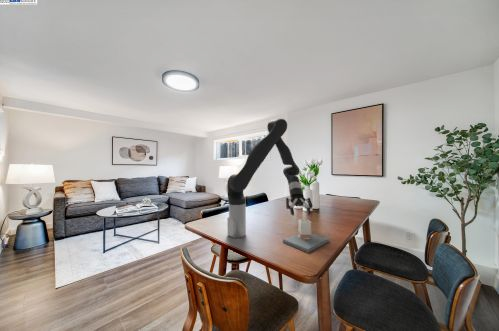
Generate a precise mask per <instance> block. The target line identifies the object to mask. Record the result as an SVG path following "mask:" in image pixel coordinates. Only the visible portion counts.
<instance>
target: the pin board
mask: <svg viewBox="0 0 499 331" xmlns="http://www.w3.org/2000/svg"><path fill="white" fill-rule="evenodd" d="M329 242H330V239H329V238H328V237H324V236H322V235H318V234H315V233H312V232H311V238H300V236H299V235H298V233H295V234H293V235H291V236H288V237H285V238H282V243H283V244H286V245H288V246H290V247H293V248H295V249H297V250H301V251H303V252H306V253H310V252H312V251H314V250H316V249H318V248H319V247H321V246H323V245H326V244H327V243H329Z"/></svg>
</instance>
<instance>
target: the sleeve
mask: <svg viewBox="0 0 499 331" xmlns="http://www.w3.org/2000/svg"><path fill="white" fill-rule="evenodd" d="M297 221H298V224H297V226H298V227H297V228H298V230H297V234H298V235H299V236H300V238H311V233H312V222H311V220H309V219H307V218H306V219H305V218H304V219H302V218H301V219H297Z"/></svg>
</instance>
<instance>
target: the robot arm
mask: <svg viewBox="0 0 499 331" xmlns="http://www.w3.org/2000/svg"><path fill="white" fill-rule="evenodd" d="M287 129H288V122H287V120H286V119H284V118H277V119H271V120H270V121H269V122H268V123H267V131H268V134H267V135H266V136H264V137H263V138H262V139H261V140H259V141H258V142H257V143H256V144H254V146H253V147H252V149H251V150H250V151H249V153H248V156H247V158H246V160H245V163H244V165H243V167H242V168H241V170H240V171H239V172H238V173H237V174H235V173H234V174H231V175H230V176H229V177H228V179H227V184H226V185H227V188H226V189H227V199H228V217H227V236H229V237H231V238H233V239H237V238H238V239H239V238H243V237H245V236H246V235H247V234H246V233H247V226H246V224H247V223H246V222H247V220H246V218H247V217H246V216H247V215H246V214H247V213H246V210H247V208H246V207H247V206H246V202H247V201H246V200H247V199H246V197H245V195H244V191H245V190H246V189H247V187H248V186H249V184H250V183H251V180H252V178H253V176H254V175H255V174H256V172H257V171H258V170H259V168H260V166H261V165H262V163H263V162H264V161H265V159H266V158H267V157H268V155H269V154H270V152H271V151H272V149H273V148H274V146H275V147H276V149H277V151H278V153H279V156H280V159H281V162H282V163H283V165H285V166H286V167H284V168H283V170H282V173H283V175H284V176H285V178H286V180H287V184H288V192H289V196H290V198H288V197H286V199H285V206H286V207H285V208H286V210H290V215H291V216H295V210H294V208H295V207H303V208H304V209H306V213H307V216H308V217H309V216H311V213H312V212H311V210H312V209H313V206H314V205H313V202H312V200H311V198H310V197H307V198H305V195H304V192H303V188H302V185H301V182H300V179H299V177H298V176H299V174H300V172H301V171H300V168H299V167H298V165H297V164H296V162H295V160H294V158H293V155H292V152H291V149H290V148H289V147H288V145H287V144H286V143H285V142H284V140H283V138H282V136H284V134H285V133H286V131H287ZM290 202H291V205H290Z"/></svg>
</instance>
